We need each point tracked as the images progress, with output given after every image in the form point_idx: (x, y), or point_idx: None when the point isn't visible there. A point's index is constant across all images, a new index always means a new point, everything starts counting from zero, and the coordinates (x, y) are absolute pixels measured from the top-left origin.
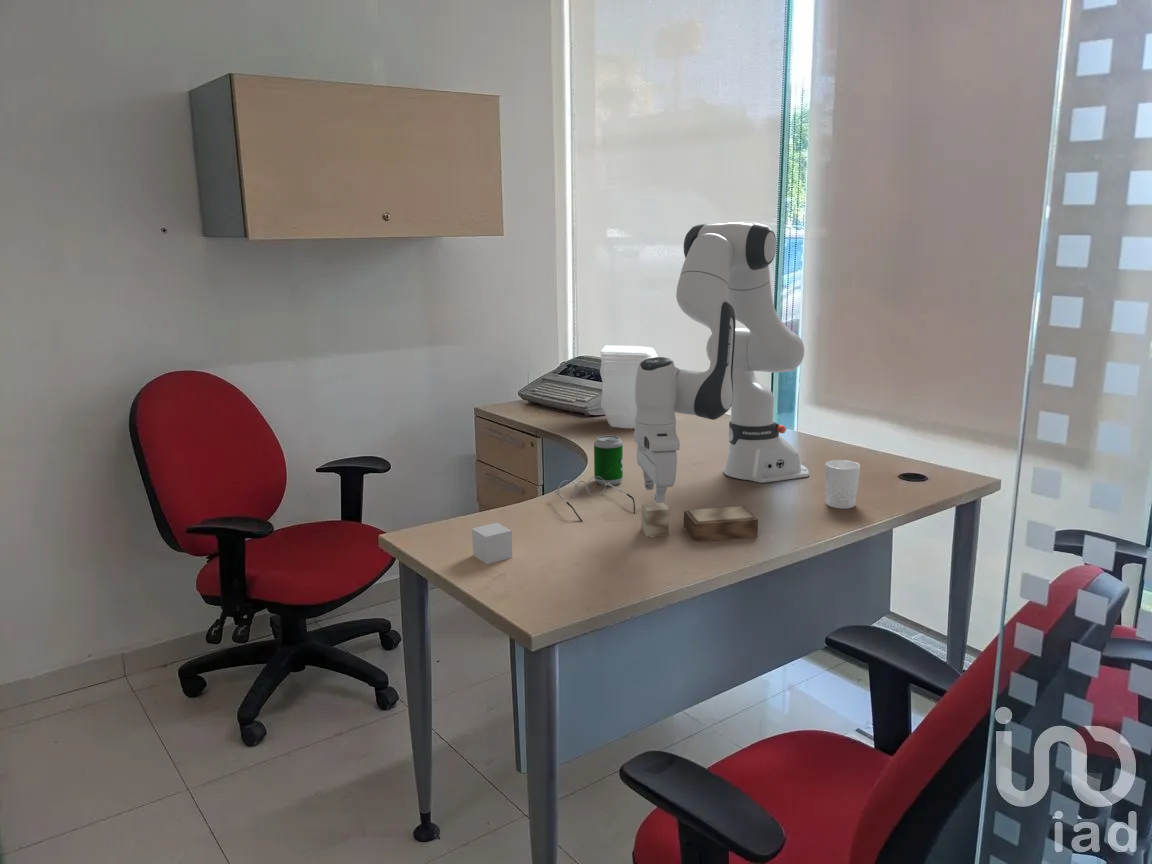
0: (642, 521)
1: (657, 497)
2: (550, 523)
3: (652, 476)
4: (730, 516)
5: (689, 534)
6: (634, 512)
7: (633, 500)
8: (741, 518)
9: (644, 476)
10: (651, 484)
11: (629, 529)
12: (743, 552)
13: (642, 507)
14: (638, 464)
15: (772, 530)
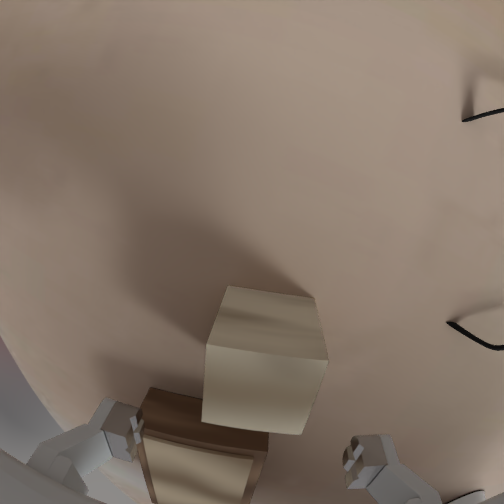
0: (296, 313)
1: (95, 418)
2: (466, 22)
3: (26, 502)
4: (169, 489)
5: None
6: (452, 325)
7: (490, 346)
8: (155, 493)
9: (405, 484)
10: (349, 472)
11: (326, 254)
12: (85, 421)
13: (301, 350)
14: (492, 500)
15: None
